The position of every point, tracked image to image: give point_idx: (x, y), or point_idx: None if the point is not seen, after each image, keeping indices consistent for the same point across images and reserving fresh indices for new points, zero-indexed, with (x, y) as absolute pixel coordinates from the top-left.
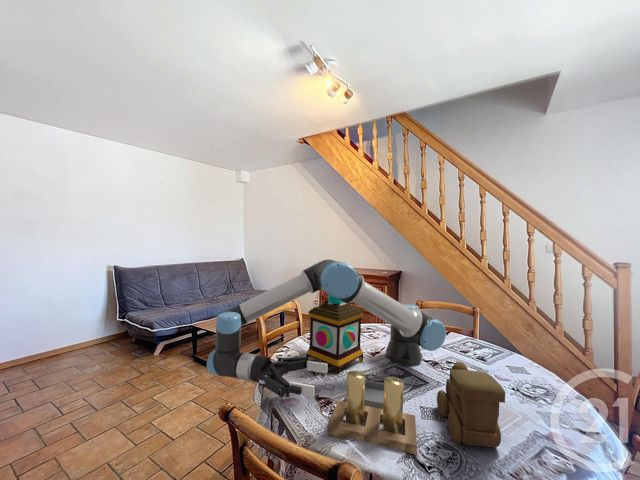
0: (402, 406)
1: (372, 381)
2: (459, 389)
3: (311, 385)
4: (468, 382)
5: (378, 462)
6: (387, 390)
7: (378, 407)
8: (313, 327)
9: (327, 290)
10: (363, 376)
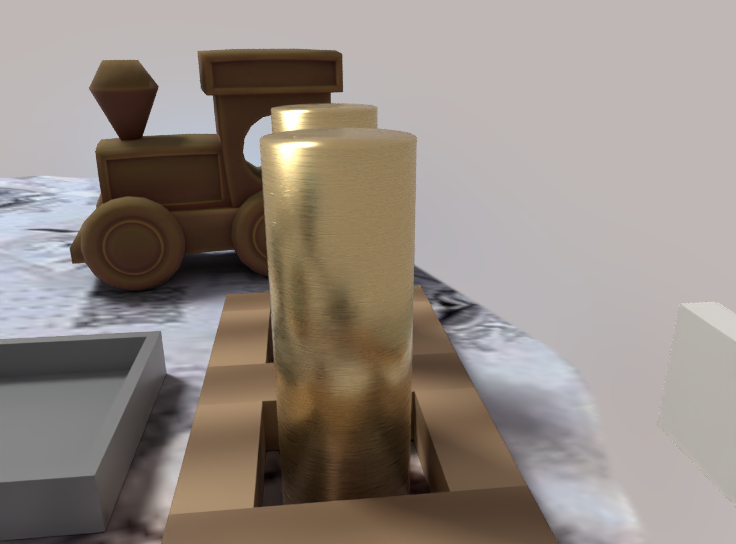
0: None
1: None
2: (311, 77)
3: (711, 322)
4: (301, 49)
5: (540, 384)
6: None
7: (142, 410)
8: None
9: None
10: (337, 129)
